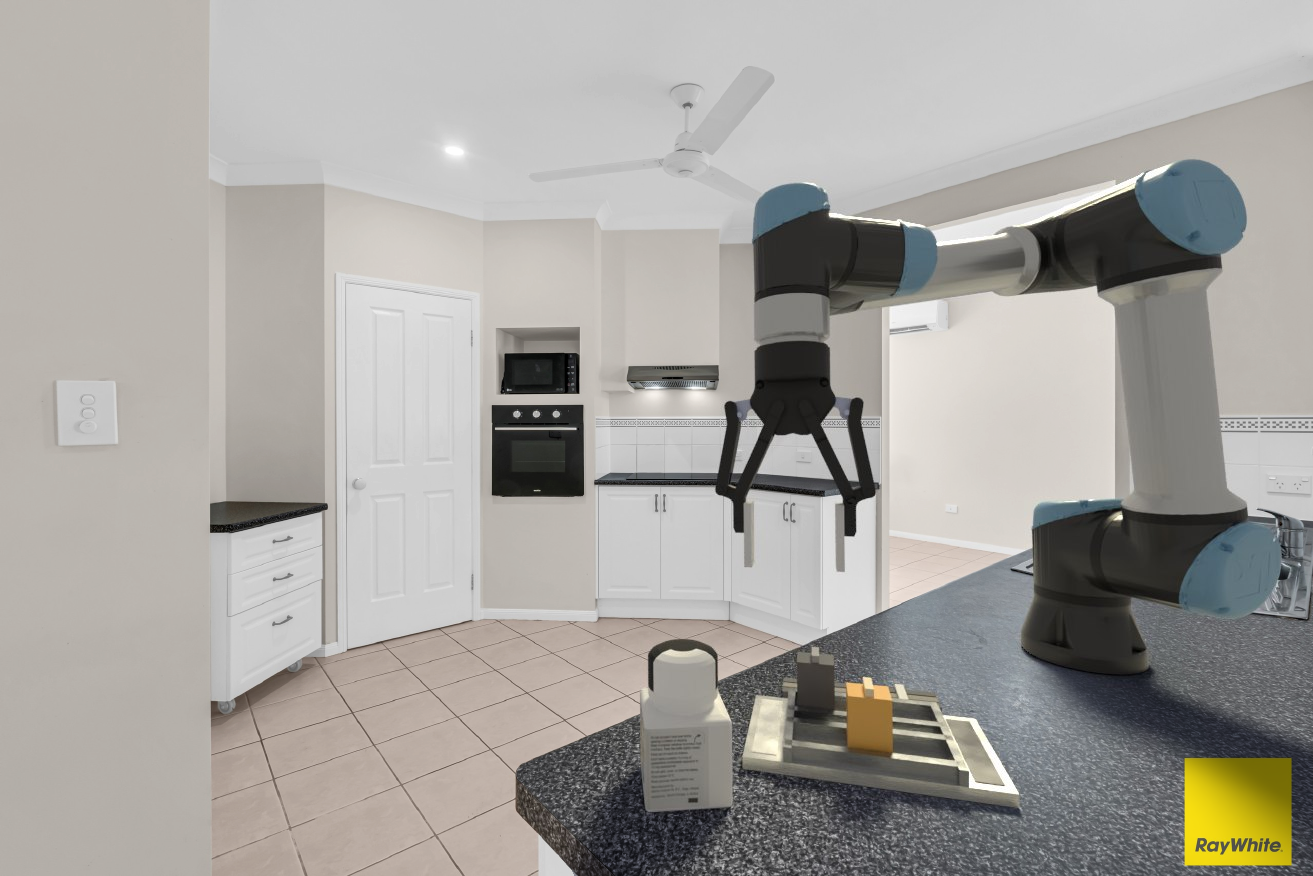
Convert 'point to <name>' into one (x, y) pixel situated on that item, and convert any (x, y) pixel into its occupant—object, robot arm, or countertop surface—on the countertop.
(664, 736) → the container
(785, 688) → the strapped plank bundle
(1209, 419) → the robot arm
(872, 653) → the countertop surface
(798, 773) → the panel
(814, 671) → the toggle
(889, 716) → the toggle
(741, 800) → the countertop surface
